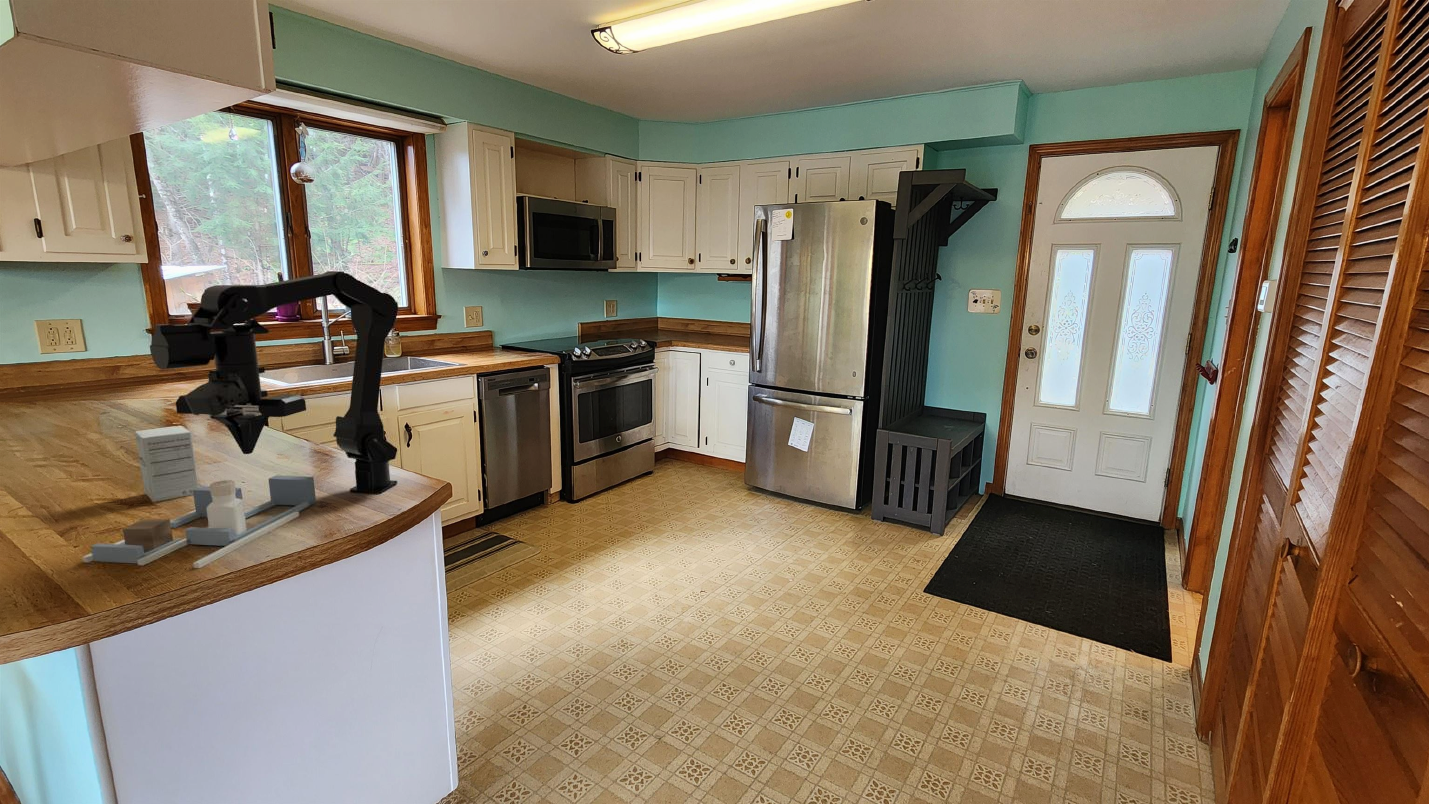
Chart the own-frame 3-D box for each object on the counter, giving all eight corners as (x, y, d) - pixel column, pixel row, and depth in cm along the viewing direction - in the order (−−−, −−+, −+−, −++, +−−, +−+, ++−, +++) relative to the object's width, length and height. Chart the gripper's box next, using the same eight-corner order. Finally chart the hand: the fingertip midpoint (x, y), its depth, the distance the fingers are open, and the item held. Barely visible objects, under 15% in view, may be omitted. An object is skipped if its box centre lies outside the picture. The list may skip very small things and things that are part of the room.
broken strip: (206, 512, 116) (202, 486, 115) (244, 514, 115) (241, 487, 114) (93, 560, 96) (87, 529, 95) (139, 563, 96) (133, 531, 95)
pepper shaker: (220, 534, 106) (212, 480, 105) (248, 532, 108) (241, 478, 106) (209, 544, 103) (201, 487, 101) (238, 542, 104) (231, 485, 102)
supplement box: (143, 493, 125) (133, 430, 122) (191, 485, 130) (182, 424, 128) (151, 503, 120) (140, 437, 117) (200, 493, 125) (191, 430, 123)
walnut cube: (146, 542, 103) (142, 519, 102) (173, 542, 104) (169, 518, 103) (126, 553, 99) (122, 529, 98) (154, 552, 100) (150, 528, 99)
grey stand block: (279, 500, 122) (276, 475, 121) (316, 502, 121) (313, 476, 120) (187, 543, 102) (182, 514, 101) (230, 545, 102) (226, 516, 101)
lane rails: (202, 511, 116) (201, 507, 116) (299, 515, 115) (298, 511, 115) (82, 562, 96) (81, 557, 96) (199, 568, 95) (198, 563, 94)
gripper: (137, 367, 99) (152, 465, 102) (252, 371, 98) (264, 469, 101) (199, 358, 110) (211, 446, 113) (303, 361, 109) (312, 450, 112)
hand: (248, 453), depth 109 cm, fingers closed
